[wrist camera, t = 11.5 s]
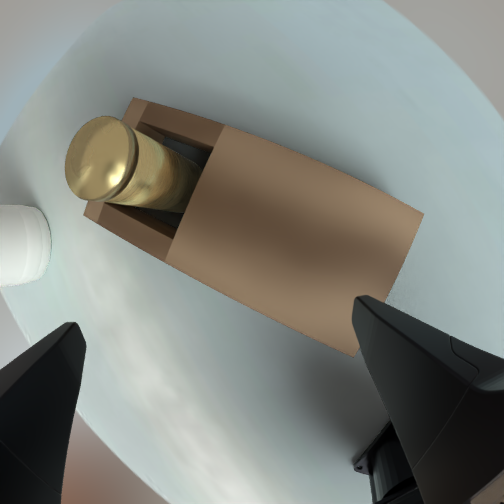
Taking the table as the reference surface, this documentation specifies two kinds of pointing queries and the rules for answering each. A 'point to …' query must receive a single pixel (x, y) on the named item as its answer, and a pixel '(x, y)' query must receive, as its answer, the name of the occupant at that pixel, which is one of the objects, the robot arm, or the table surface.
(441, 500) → the robot arm
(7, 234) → the bottle
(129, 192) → the disc
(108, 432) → the table surface
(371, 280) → the jig
